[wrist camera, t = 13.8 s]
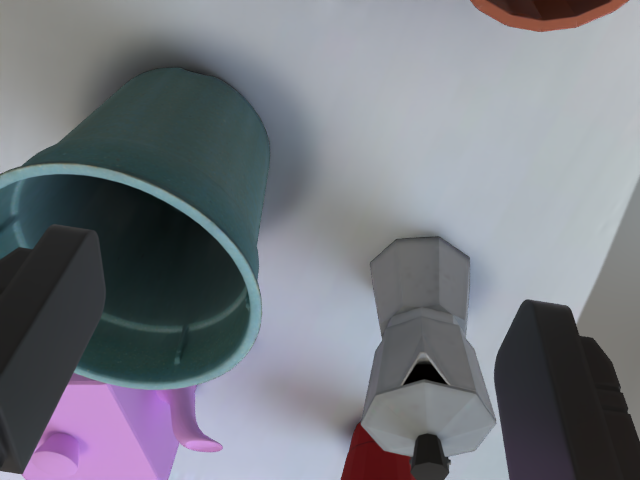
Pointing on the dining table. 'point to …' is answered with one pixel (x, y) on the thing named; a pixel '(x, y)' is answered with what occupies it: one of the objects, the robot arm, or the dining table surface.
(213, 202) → the flower pot
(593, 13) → the round terracotta bowl
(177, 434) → the teapot
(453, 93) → the dining table surface
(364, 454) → the plastic cup
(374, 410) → the coffee maker
